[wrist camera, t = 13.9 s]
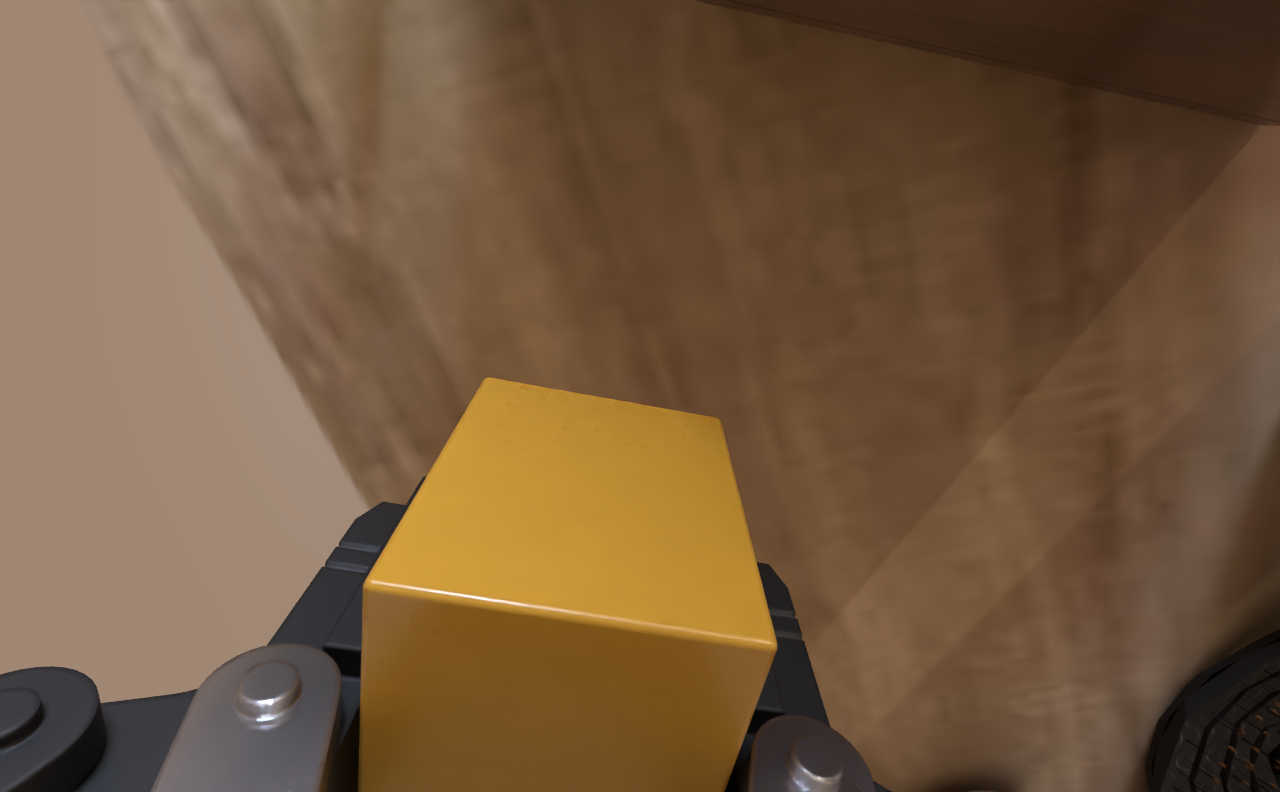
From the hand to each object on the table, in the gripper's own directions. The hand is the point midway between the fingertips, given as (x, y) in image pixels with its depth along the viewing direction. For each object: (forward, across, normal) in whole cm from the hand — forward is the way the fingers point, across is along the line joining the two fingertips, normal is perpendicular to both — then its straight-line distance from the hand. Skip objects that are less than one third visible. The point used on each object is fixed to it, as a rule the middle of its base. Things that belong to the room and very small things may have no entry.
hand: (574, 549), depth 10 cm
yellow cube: (0, 0, 0) cm, 0 cm away
